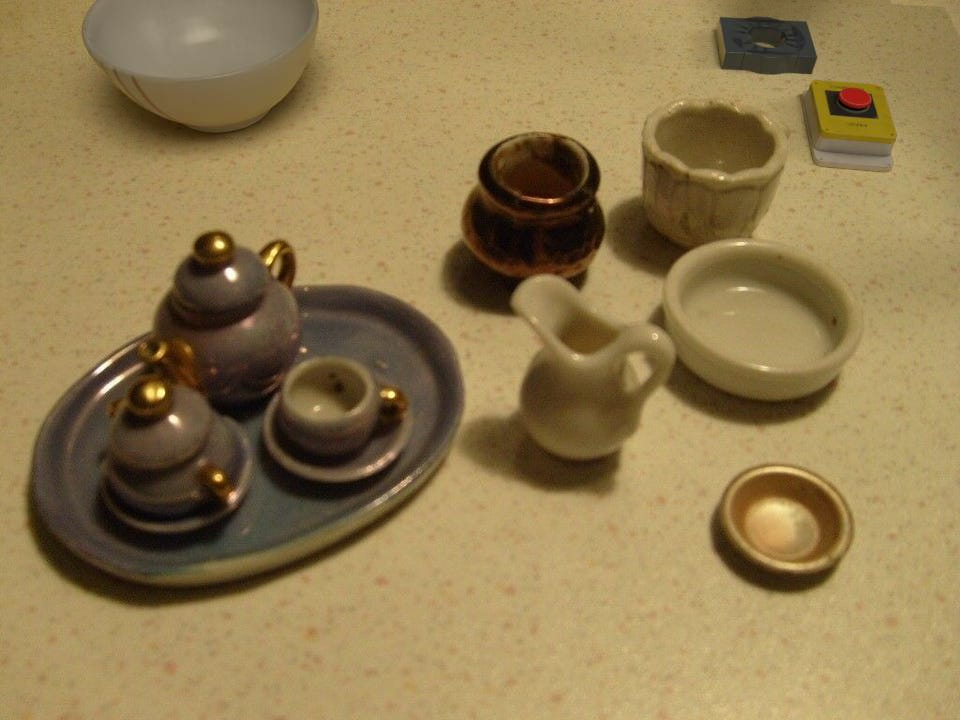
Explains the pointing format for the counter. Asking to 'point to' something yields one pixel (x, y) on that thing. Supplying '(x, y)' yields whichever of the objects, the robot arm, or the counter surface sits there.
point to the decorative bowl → (203, 55)
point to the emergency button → (849, 125)
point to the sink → (743, 54)
